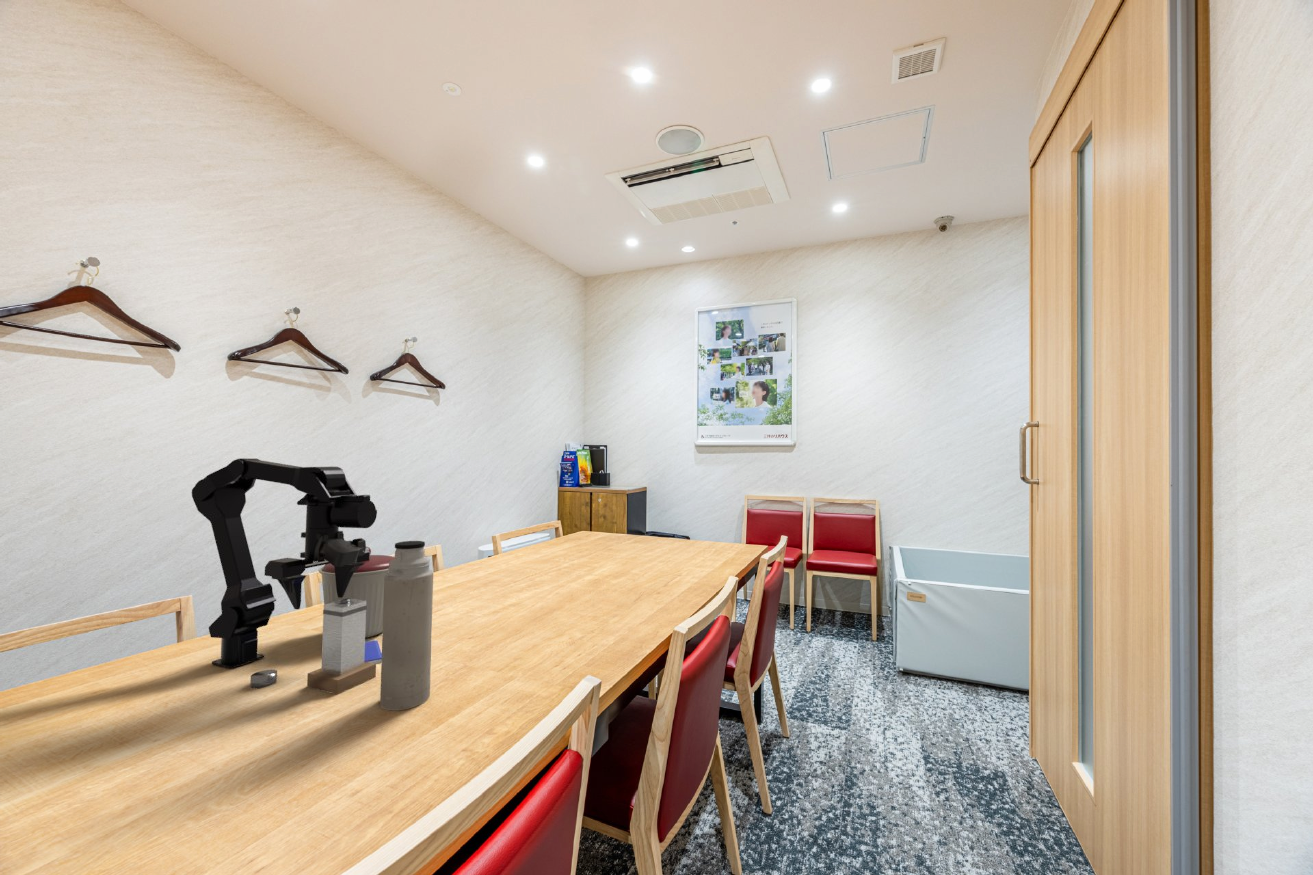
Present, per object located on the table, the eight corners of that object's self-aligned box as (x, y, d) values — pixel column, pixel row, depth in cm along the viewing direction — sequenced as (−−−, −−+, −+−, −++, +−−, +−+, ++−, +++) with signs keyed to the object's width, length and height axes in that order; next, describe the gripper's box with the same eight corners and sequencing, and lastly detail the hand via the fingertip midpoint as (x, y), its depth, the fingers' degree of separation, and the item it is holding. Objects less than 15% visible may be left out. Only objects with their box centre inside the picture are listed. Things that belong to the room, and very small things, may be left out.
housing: (320, 671, 96) (323, 601, 97) (345, 661, 101) (347, 594, 101) (340, 675, 94) (343, 604, 95) (364, 665, 99) (366, 597, 100)
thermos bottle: (405, 686, 96) (410, 537, 97) (439, 693, 93) (443, 539, 94) (369, 705, 88) (374, 543, 89) (405, 713, 85) (410, 546, 87)
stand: (307, 686, 95) (307, 673, 95) (346, 670, 103) (346, 657, 103) (337, 694, 92) (338, 680, 92) (375, 676, 100) (376, 663, 100)
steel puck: (244, 688, 94) (244, 677, 95) (262, 679, 98) (263, 668, 99) (264, 689, 94) (264, 678, 94) (282, 680, 98) (282, 669, 98)
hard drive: (335, 646, 113) (337, 665, 102) (377, 639, 117) (383, 657, 107) (335, 653, 113) (337, 673, 102) (377, 646, 117) (383, 664, 107)
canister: (379, 616, 137) (382, 538, 138) (415, 630, 126) (417, 545, 127) (302, 635, 122) (306, 547, 123) (335, 652, 112) (339, 556, 113)
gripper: (304, 535, 94) (301, 621, 93) (389, 523, 111) (387, 595, 110) (264, 531, 98) (260, 614, 97) (352, 521, 115) (350, 590, 114)
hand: (319, 602), depth 105 cm, fingers open, 9 cm apart
